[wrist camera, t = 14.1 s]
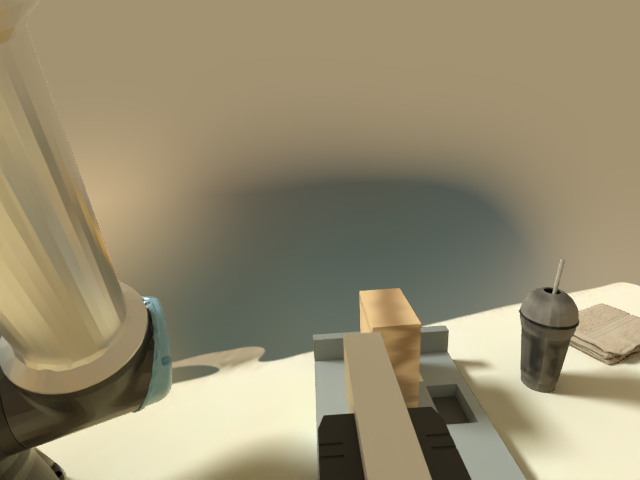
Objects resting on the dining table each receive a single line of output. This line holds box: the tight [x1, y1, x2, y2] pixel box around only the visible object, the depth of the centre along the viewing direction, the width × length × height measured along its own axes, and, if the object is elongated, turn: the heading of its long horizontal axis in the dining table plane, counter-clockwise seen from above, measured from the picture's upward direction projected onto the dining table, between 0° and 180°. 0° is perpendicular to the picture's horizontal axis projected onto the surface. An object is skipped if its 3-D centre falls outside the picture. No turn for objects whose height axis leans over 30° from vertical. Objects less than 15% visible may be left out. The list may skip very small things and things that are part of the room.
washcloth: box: [569, 304, 640, 364], centre depth 64 cm, size 12×18×3 cm, turn 115°
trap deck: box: [313, 326, 526, 480], centre depth 44 cm, size 22×32×6 cm
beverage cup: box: [519, 258, 579, 392], centre depth 51 cm, size 7×7×20 cm
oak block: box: [360, 288, 421, 408], centre depth 50 cm, size 6×10×13 cm, turn 3°
